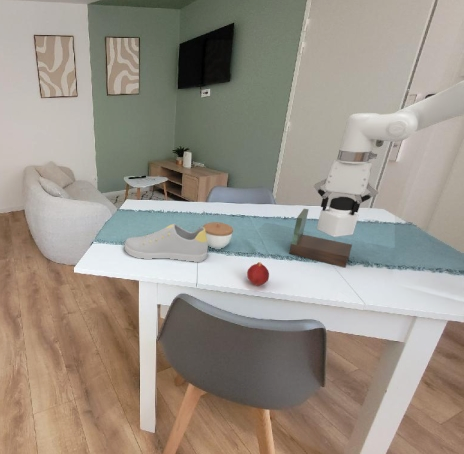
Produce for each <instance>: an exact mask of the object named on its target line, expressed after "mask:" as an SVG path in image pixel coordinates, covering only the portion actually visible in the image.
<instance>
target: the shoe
mask: <svg viewBox="0 0 464 454" xmlns="http://www.w3.org/2000/svg"><path fill="white" fill-rule="evenodd" d="M208 249H209V247H208V241H207V237H206V232H205V228H203V226H200V227H198V228H197V229H196V230H194V231H188V230H186V229H184V228H182V227H181V226H179V225H178V224H176V223H171V224H169V225H167V226H165V227H163V228H161V229H160V230H157V231H155V232H152V233H149V234H148V233H147V234H146V235H143V236H131V237H128V238H126V240H125V242H124V250H125V252H126V253H127V254H128V255H130V256H132V257H134V258H137V259H141V258H144V259H143V260H153V259H152V258H170V259H169V260H174V259H178V260H177V261H181V260H186V261H185V262H189V261H194V262H193V263H201V262H203V261H205V260H206V259H207V256H208V255H207V254H208Z"/></svg>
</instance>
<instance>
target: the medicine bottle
mask: <svg viewBox="0 0 464 454" xmlns="http://www.w3.org/2000/svg"><path fill="white" fill-rule="evenodd" d="M355 201H356V200H355V199H353V198H351V197H350V196H349V197H348V196H342V195H338V196H333V197H331V199H330V202H329V205H328V209H327V208H326V209H325V210H324V211H322V209H321V210H320V214H319V217H318V222H317V225H316V230H318V231H319V232H322V233H324V234H326V235H327V236H331V237H333V238H338V237H345V236H352V235H354V232H355V228H356V227H357V226H356V225H357V222H358V219H359V214H358V213H356V212H355V213H354V215H351V213H352V209H353V206H354V203H355Z"/></svg>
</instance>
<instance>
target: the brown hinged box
mask: <svg viewBox="0 0 464 454" xmlns="http://www.w3.org/2000/svg"><path fill="white" fill-rule="evenodd" d="M308 215H309V208H303V209H302V211H301V212H300V213H299V214H298V215H297V217H296V221H295V225H294V229H293V234H292V239H291V243H290V248H289V252H288V255H293V256H296V257H300V258H305V259H309V260H313V261H317V262H321V263H325V264H329V265H332V266H337V267H341V268H346V267H347V264H348V261H349V258H350V255H351V250H352V247H353V244H352V243H351V244H350V243H347V242H340V241H336V240H331V239H328V238H327V239H326V238H323V237H317V236H313V235H307V234H304V230H305V226H306V222H307V218H308Z"/></svg>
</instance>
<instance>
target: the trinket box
mask: <svg viewBox="0 0 464 454" xmlns="http://www.w3.org/2000/svg"><path fill="white" fill-rule="evenodd" d="M202 227H203V228H205V232H206V237H207V241H208V246H209V247H208V248H210V247H211V248H210V249H212V248H215V249H214V250H222V249H221V248H223V249H224V248H225V247H226V246H228V245H229V244H230V243H231V240H232V238H233V232H234V227H233V226H231V225H230V224H227V223H224V222H218V221H217V222H216V221H212V222H206V223H204V224H203V226H202Z"/></svg>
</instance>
